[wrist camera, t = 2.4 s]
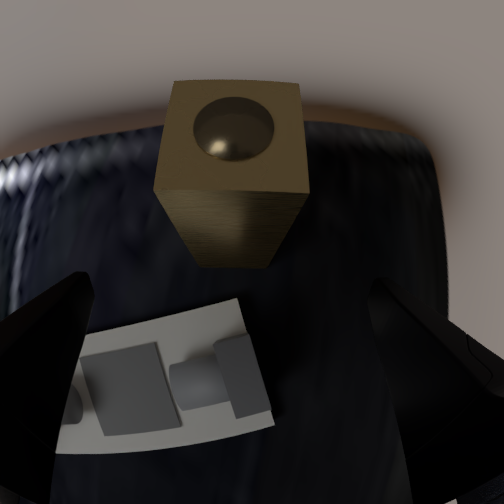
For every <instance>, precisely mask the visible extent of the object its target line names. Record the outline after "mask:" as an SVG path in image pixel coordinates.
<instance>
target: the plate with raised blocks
mask: <svg viewBox="0 0 504 504" xmlns="http://www.w3.org/2000/svg"><path fill="white" fill-rule="evenodd" d="M270 410H272V409H271V405H270V402H269V399H268V396H267V392H266V389H265V386H264V382H263V379H262V376H261V372H260V369H259V366H258V362H257V359H256V356H255V352H254V349H253V346H252V342H251V339H250V335H249V334H248V333H247V331H246V328H245V324H244V321H243V317H242V314H241V310H240V307H239V303H238V300H237V298H235V299H232V300H228V301H224V302H220V303H217V304H213V305H209V306H205V307H201V308H198V309H194V310H190V311H186V312H182V313H178V314H174V315H170V316H166V317H162V318H158V319H154V320H149V321H145V322H141V323H137V324H133V325H128V326H124V327H120V328H115V329H111V330H106V331H102V332H97V333H93V334H88V335H86V336H85V340H84V343H83V346H82V349H81V353H80V356H79V359H78V362H77V366H76V369H75V372H74V376H73V379H72V383H71V387H70V390H69V394H68V398H67V402H66V406H65V410H64V415H63V419H62V423H61V428H60V433H59V438H58V443H57V449H56V453H61V454H104V453H124V452H136V451H147V450H156V449H164V448H171V447H178V446H185V445H191V444H196V443H202V442H207V441H212V440H217V439H222V438H226V437H231V436H235V435H239V434H243V433H247V432H251V431H255V430H259V429H262V428H266V427H269V426H273V425H275V424H274V421H273V417H272V414H271V411H270Z"/></svg>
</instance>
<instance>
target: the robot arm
mask: <svg viewBox="0 0 504 504" xmlns="http://www.w3.org/2000/svg"><path fill="white" fill-rule="evenodd" d="M94 297H95V295H94V290H93V287H92V284H91V281H90V278H89V275H88V273H86V272H79V271H76V272H74V273H72V274H71V275H69V276H67V277H66V278H64V279H63V280H61V281H60V282H58V283H56V284H55V285H53V286H52V287H50V288H49V289H47V290H46V291H44V292H43V293H41V294H40V295H38V296H37V297H35V298H34V299H32V300H31V301H29V302H28V303H26V304H25V305H23V306H22V307H20V308H19V309H17V310H16V311H15V312H13V313H12V314H10V315H9V316H7V317H6V318H5V319H3V320H2V321H0V504H19V501H20V496H21V497H23V498H25V499H28V500H30V501H32V502H34V503H36V504H49V500H50V490H51V482H52V474H53V468H54V461H55V455H56V449H57V443H58V438H59V433H60V428H61V423H62V419H63V415H64V410H65V406H66V402H67V398H68V394H69V390H70V387H71V383H72V379H73V376H74V372H75V369H76V366H77V362H78V359H79V356H80V353H81V349H82V346H83V343H84V340H85V336H86V332H87V327H88V323H89V319H90V315H91V311H92V307H93V303H94ZM367 303H368V309H369V313H370V318H371V323H372V328H373V333H374V338H375V342H376V346H377V350H378V353H379V356H380V360H381V363H382V367H383V370H384V373H385V377H386V380H387V384H388V388H389V391H390V395H391V399H392V403H393V406H394V410H395V414H396V418H397V423H398V427H399V431H400V435H401V440H402V444H403V449H404V454H405V458H406V465H407V470H408V475H409V481H410V486H411V492H412V499H413V504H445V503H447V502H449V501H451V500H454V499H456V500H457V504H504V360H503V359H502V358H500V357H499V356H497V355H496V354H494V353H493V352H492V351H490V350H489V349H487V348H486V347H484V346H483V345H482V344H480V343H479V342H477V341H476V340H475V339H473V338H472V337H471V336H469V335H468V334H466V333H465V332H464V331H462V330H461V329H460V328H459V327H457V326H456V325H455V324H453V323H452V322H450V321H449V320H448V319H446V318H445V317H443V316H442V315H441V314H439V313H438V312H437V311H435V310H434V309H432V308H431V307H429V306H428V305H427V304H425V303H424V302H422V301H421V300H419V299H418V298H417V297H415V296H414V295H412V294H411V293H409V292H408V291H406V290H405V289H404V288H402V287H401V286H399V285H398V284H396V283H395V282H393V281H392V280H390V279H389V278H386V277H384V278H376V279H375V280H374V282H373V284H372V287H371V290H370V293H369V296H368V301H367Z"/></svg>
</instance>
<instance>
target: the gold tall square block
mask: <svg viewBox="0 0 504 504" xmlns="http://www.w3.org/2000/svg"><path fill="white" fill-rule="evenodd" d="M153 191H154V192H155V194H156V196H157V197H158V199H159V201H160V203H161V204H162V206H163V208H164V209H165V211H166V213H167V214H168V216H169V218H170V219H171V221H172V223H173V224H174V226H175V228H176V229H177V231H178V233H179V234H180V236H181V238H182V239H183V241H184V242H185V244H186V246H187V247H188V249H189V251H190V252H191V254H192V255H193V257H194V259H195V260H196V262H197V263H198V265H199V267H218V268H267V267H268V265H269V263H270V262H271V260H272V258H273V256H274V255H275V253H276V251H277V250H278V248H279V246H280V244H281V243H282V241H283V239H284V237H285V236H286V234H287V232H288V231H289V229H290V227H291V225H292V224H293V222H294V220H295V218H296V217H297V215H298V213H299V211H300V210H301V208H302V206H303V204H304V203H305V201H306V199H307V197H308V195H309V194H310V191H309V177H308V165H307V153H306V142H305V132H304V123H303V113H302V106H301V96H300V89H299V84H296V83H285V82H274V81H257V80H186V81H174V84H173V88H172V93H171V97H170V101H169V106H168V110H167V115H166V120H165V125H164V130H163V135H162V140H161V146H160V151H159V157H158V163H157V169H156V176H155V183H154V190H153Z"/></svg>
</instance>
